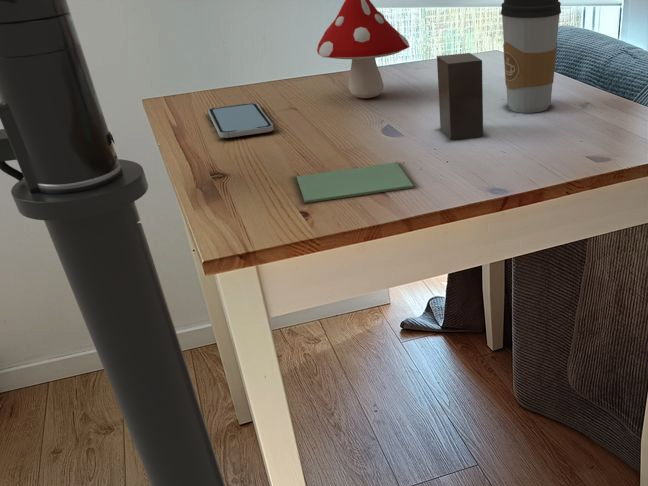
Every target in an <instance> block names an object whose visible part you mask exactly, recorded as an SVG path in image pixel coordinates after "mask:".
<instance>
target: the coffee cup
mask: <svg viewBox="0 0 648 486" xmlns="http://www.w3.org/2000/svg"><path fill="white" fill-rule="evenodd" d="M561 5H562V3H561V1H559V0H503V2H502V3H501V6H500V7H501V9H500V15H501V17H502V18H501V20H502V21H501V22H502V36H503V44H502V45H503V49H502V50H503V63H504V79H505V88H506V104H507V105H508V108H509V109H510V110H511V111H513V112H516V113H524V114H525V113H526V114H532V113H540V112H544V111H546V110H548V109H549V107H550V105H551V102H552V94H553V93H552V92H553V84H554V78H555V70H556V60H557V59H556V58H557V50H558V33H559V23H560V15H561V14H562V8H561Z"/></svg>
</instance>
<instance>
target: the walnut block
mask: <svg viewBox="0 0 648 486" xmlns="http://www.w3.org/2000/svg"><path fill="white" fill-rule="evenodd" d="M436 66H437V67H436V68H437V85H438V87H437V89H438V107H439V129H440V131H441V132H442V133H443V134H444V135H445V136H446V137H447V138H448V139H449V140H450V141H455V140H456V141H458V140H464V139H472V138H480V137H484V97H483V96H484V91H483V90H484V89H483V88H484V87H483V85H484V84H483V60H482V59H481V58H479V57H478V56H476V55H475V54H473V53H471V52H467V53H466V52H465V53H464V52H463V53H454V54H443V55H437V56H436Z"/></svg>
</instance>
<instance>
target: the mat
mask: <svg viewBox="0 0 648 486" xmlns="http://www.w3.org/2000/svg"><path fill="white" fill-rule="evenodd" d="M296 180H297V183H298V184H297V185H298V186H299V190H300V193H301V195H302V199H303V201H304V204H309V203H318V202H323V201H329V200H331V201H332V200H337V199H344V198H350V197H351V198H352V197H359V196H366V195H371V194H372V195H373V194H379V193H380V194H381V193H386V192H394V191H400V190H407V189H412V188H414V185H413V183H412V182H411V180H410V178H409V177H408V176H407V175H406V173H405V172H404V170H403V169H402V167H401V166H400V165H399V163H398V162H392V163H384V164H377V165H369V166H362V167H354V168H346V169H339V170H332V171H326V172H325V171H324V172H317V173H310V174H302V175H296Z"/></svg>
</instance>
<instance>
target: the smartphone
mask: <svg viewBox="0 0 648 486" xmlns="http://www.w3.org/2000/svg"><path fill="white" fill-rule="evenodd" d="M207 112H208V116H209V118H210V119H211V122H212V123H213V126H214V128H215V130H216V132H217V134H218V136H219V138H221V139H229V138H236V137H243V136H249V135H256V134H263V133H269V132H270V133H271V132H272V131H274V130H275V129H274V124H273V122H272V121H271V120H270V118H269V117H268V116H267V115H266V114H265V112H264V111H263V109H262V108H261V107H260V106H259V104H258V103H256V102H248V103H239V104H232V105H225V106H215V107H210V108H208V109H207Z"/></svg>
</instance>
